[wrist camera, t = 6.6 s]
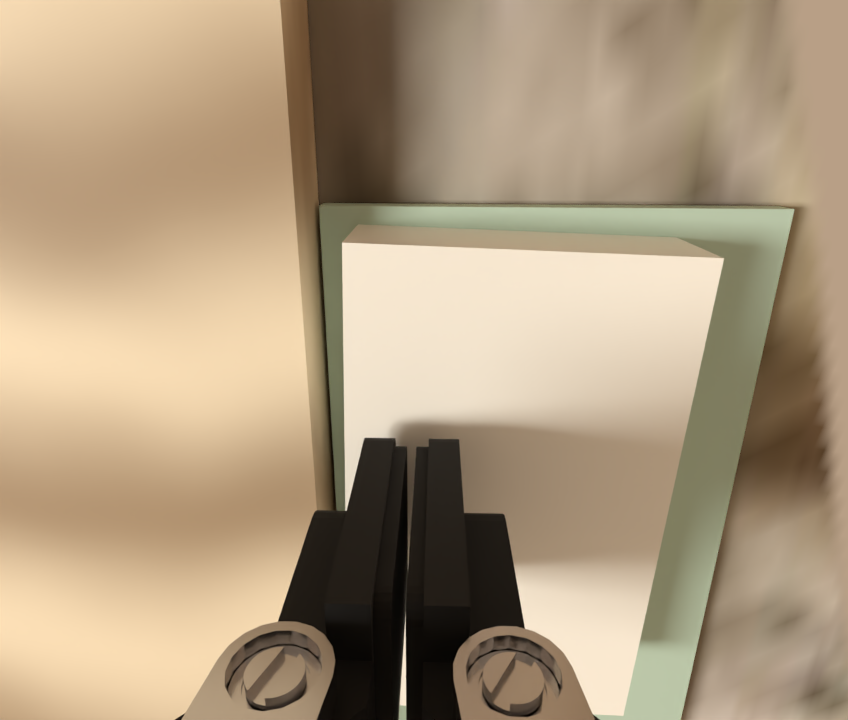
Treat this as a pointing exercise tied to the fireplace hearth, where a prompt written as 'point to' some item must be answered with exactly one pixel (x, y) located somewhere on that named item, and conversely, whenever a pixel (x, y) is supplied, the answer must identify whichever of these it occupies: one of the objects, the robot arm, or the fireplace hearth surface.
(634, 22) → the fireplace hearth surface
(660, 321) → the cream rectangular block
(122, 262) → the wavy wooden board
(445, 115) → the fireplace hearth surface
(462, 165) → the fireplace hearth surface
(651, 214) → the mat
